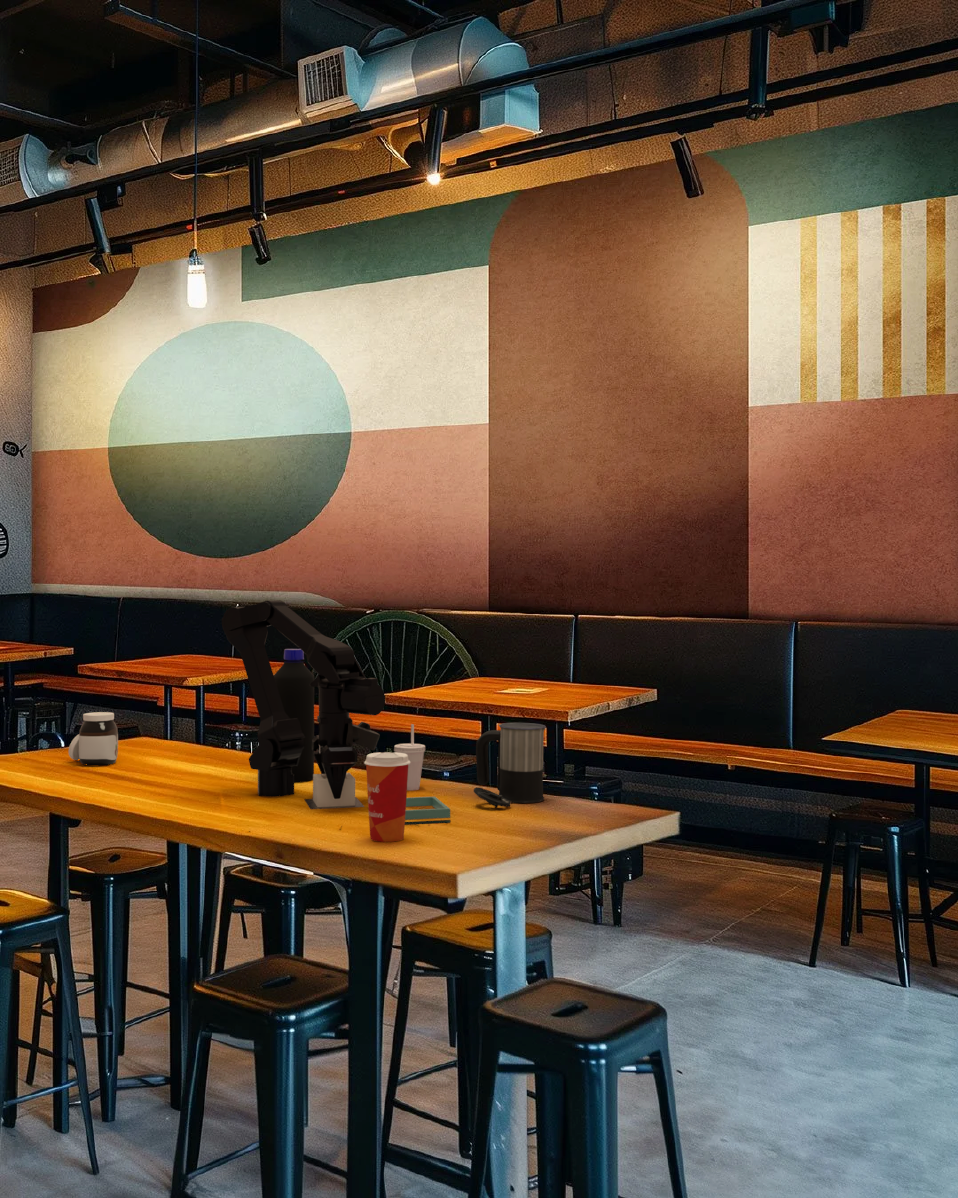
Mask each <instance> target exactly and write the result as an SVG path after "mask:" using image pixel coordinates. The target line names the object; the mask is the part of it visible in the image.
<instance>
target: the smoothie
mask: <svg viewBox="0 0 958 1198" xmlns="http://www.w3.org/2000/svg"><path fill="white" fill-rule="evenodd" d="M393 751H394V752H397V753H404V754H407V755H408V760H409V761H410V764H408V780H407V791H417V790H420V784H421V780H422V779H421V776H422V770H423V763H424V754H425V751H426V745H425V744H421V743H415V724H413V723H411V724H410V743H398V744H395V745H394V748H393Z"/></svg>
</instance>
